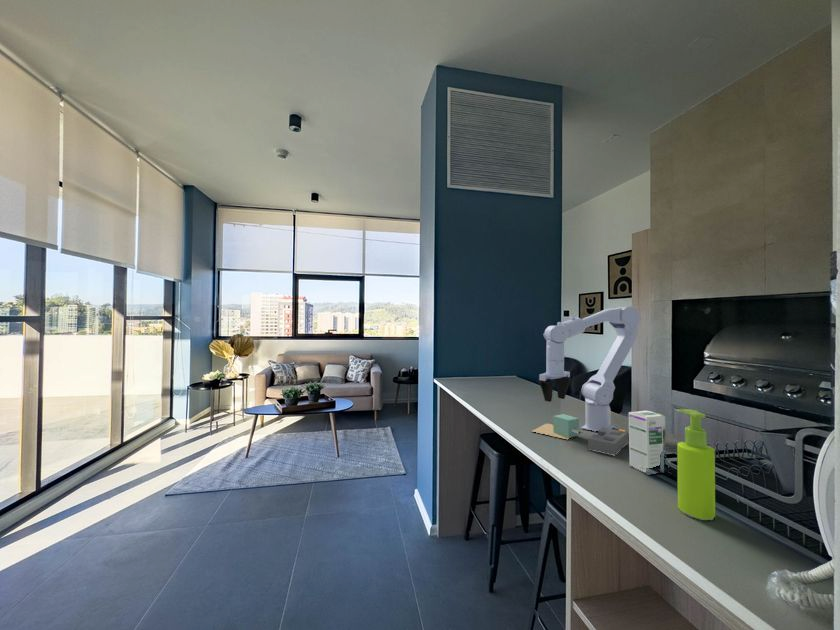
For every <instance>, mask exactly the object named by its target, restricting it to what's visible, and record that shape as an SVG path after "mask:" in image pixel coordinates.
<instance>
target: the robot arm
mask: <svg viewBox="0 0 840 630" xmlns="http://www.w3.org/2000/svg"><path fill="white" fill-rule="evenodd" d="M641 321H642V317H641V315H640V311H639V310H638V309H637V308H636V307H635V306H631V305H630V306H622V307H621V306H620V307H619V306H618V307H616V306H613V307H610V308H605V309H603V310H600V311H599V312H596V313H593V314H590V315H589V316H586V317H583V318H580V317H576V316H571V317H569V319H567V320H565V321H562V322H561V321H558V322H557V324H556V325H548V326H547V327H546V328H545V330H544V333H542V334H543V337H544V339H545V340H546V353H545V355H546V356H545V357H546V359H545V361H546V362H545V363H546V364H545V366H546V367H545V368H546V369H545V370H546V371H545V372H544V373H540V374H539V376H538V380H537V383H538V385H539V386H540V388H541V391H542V396H543V399H544V402H548V403H550V402H552V401H553V391H554V387H555V384H556V388H557V389H556V391H557V397H558V399H561V400H564V399H565V398H566V395H567V392H568V388H569V386H570V385H571V382H572V378H571V377H570V376H571V372H570V371H566V370H565V342H566V341H567V339H569V338H572V337H575V336H577V335H580V334H583V333H585V331H586V329H587V328H589V327H593V326H595V325H598V324H601V323H606V322H607V323H609V324H610V326H611V327H612V328H613V329H614V331H615V332H616V335H617V336H616V338H615V340H614V341H613V344H612V346H611V347H610V349H609V351H608V352H607V354H606V356H605V358H604V359H603V362H602V363H601V366H600V367H599V369H598V371H597V372H596V374H593V375H592V376H591V377H589V378H588V380H587V381H586V382H585V383H584V384H582V387H581V395H582V396H583V397H584V401H585V406H584V407H585V424H583V426H581V427H580V428H581V430H586V431H591V430H592V432H596V431H599V430H600V429H601V428H608V429H614V428H615V426H614V425H612V424H611V422H612V421H611V419H612V418H611V417H612V414H611V413H612V412H611V411H612V410H611V406H610V404H611V402H612V400H614V392H615V389H616V386H615V383H614V380H615V379H616V376H617V375H618V372H619V370H620V369H621V367H622V366H623V363H624V362H625V360H626V358H627V357H628V354H629V353H630V351H631V348H632V347H633V345H634V344H635V342H636V340H637V337H638V332H639V330H638V329H639V325H640V323H641ZM552 380H554V381H552ZM613 427H614V428H613Z"/></svg>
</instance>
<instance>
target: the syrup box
mask: <svg viewBox="0 0 840 630" xmlns="http://www.w3.org/2000/svg"><path fill="white" fill-rule="evenodd" d="M666 439H667V438H666V416H665V415H664V414H662V413H658V412H655V411H652V410H651V411H650V410H641V411H639V410H638V411H629V412H628V447H629V448H628V449H629V452H628V454H629V455H628V456H629V466H630V465H631V466H633V467H635V468H637V469H639V470H641V471H643V472H646V468H653V467H656V466H659V465H660V454H661V452H662V451H663V450H666V451H667V449H666V448H667V446H666V445H667V442H666V441H667V440H666ZM665 457H666V458H667V454H666V455H665Z"/></svg>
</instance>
